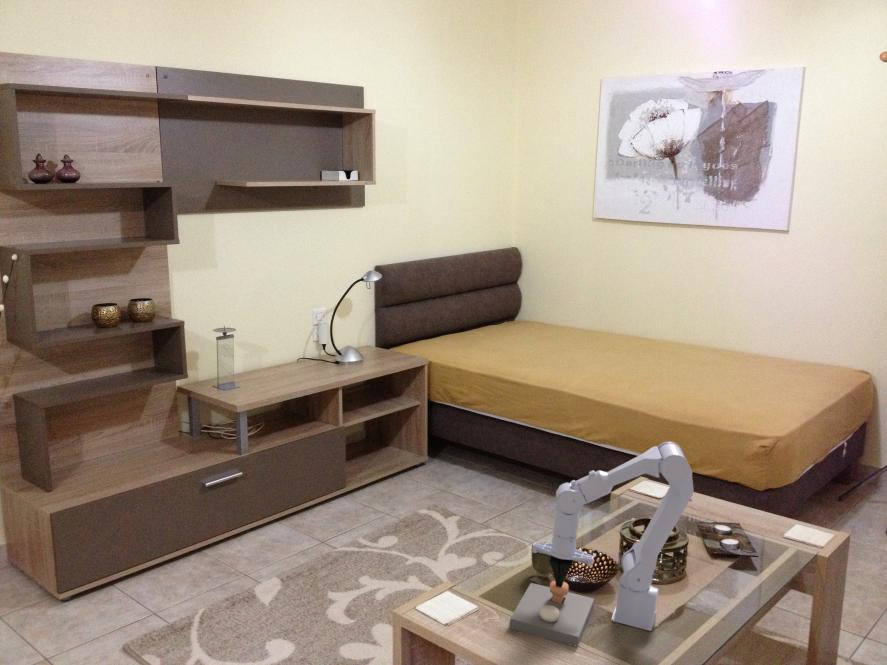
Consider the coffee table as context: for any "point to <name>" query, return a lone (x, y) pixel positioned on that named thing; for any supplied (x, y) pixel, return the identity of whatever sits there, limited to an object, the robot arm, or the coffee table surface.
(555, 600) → the terracotta button
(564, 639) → the button panel
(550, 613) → the white rounded piece
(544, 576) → the cup
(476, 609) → the coffee table surface
